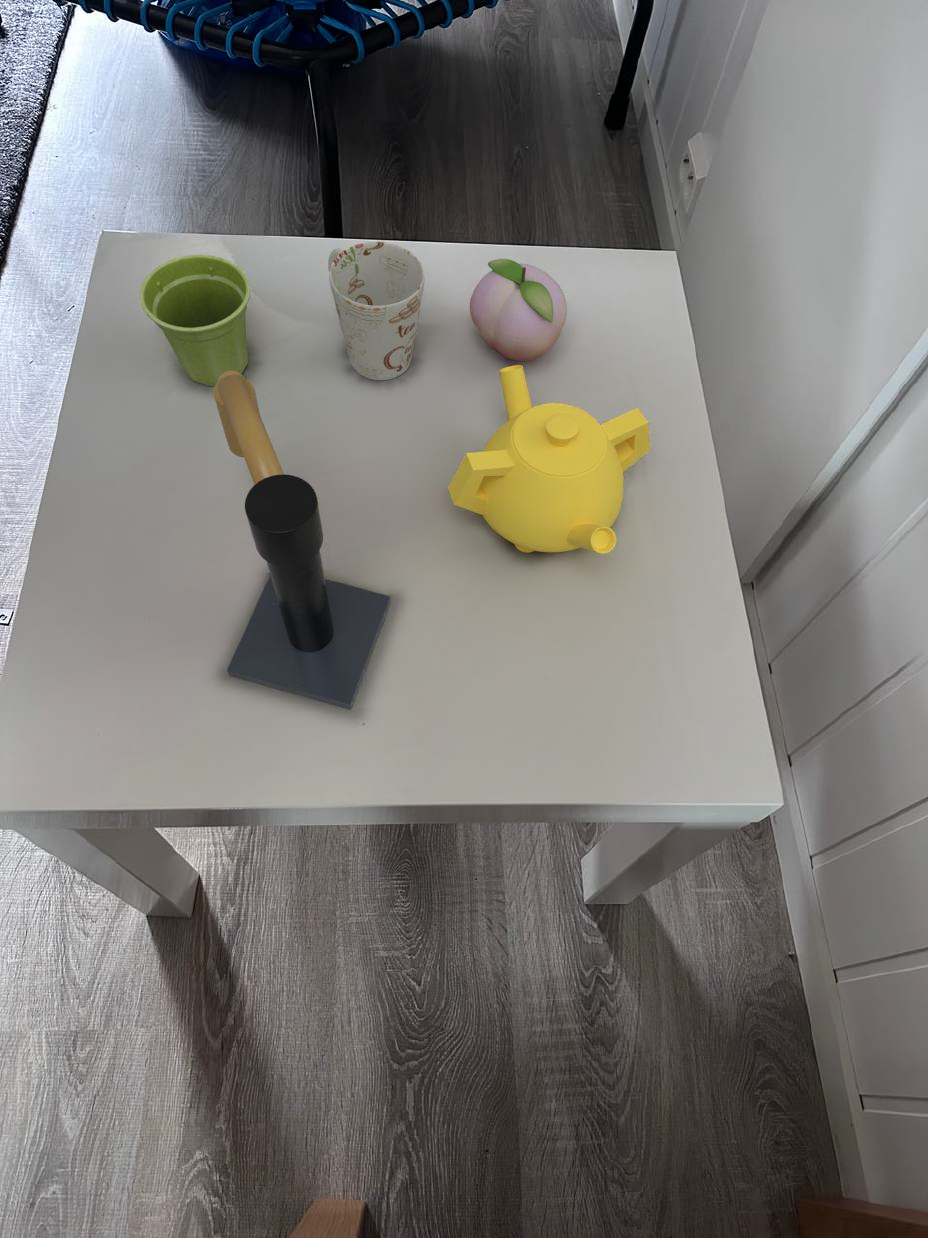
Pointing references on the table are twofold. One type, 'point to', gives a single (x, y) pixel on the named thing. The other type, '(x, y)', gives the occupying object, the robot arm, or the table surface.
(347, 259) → the mug
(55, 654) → the table surface
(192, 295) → the plant pot
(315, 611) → the square base plate
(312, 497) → the spout
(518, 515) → the teapot
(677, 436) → the table surface
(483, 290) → the decorative fruit
